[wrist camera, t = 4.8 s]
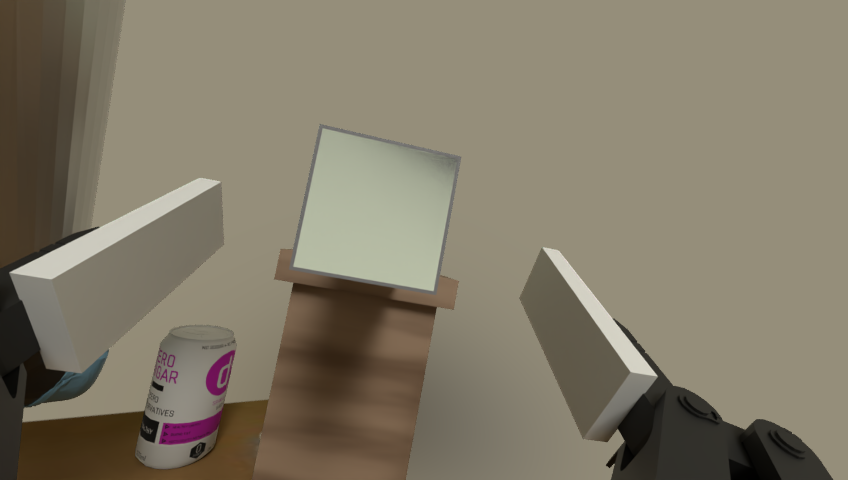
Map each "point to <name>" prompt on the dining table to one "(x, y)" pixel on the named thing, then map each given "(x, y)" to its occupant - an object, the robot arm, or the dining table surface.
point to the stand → (347, 378)
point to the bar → (375, 211)
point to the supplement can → (186, 396)
